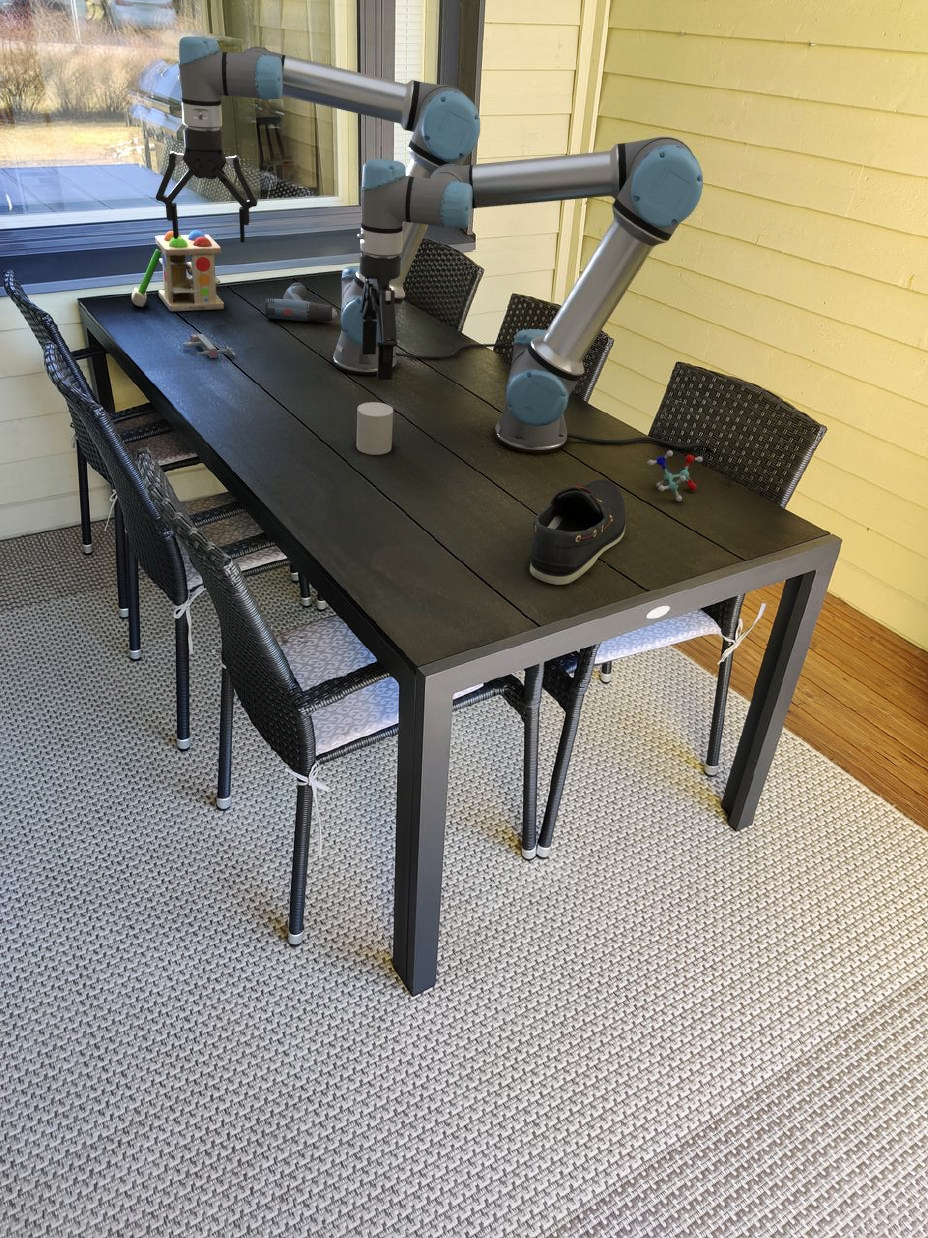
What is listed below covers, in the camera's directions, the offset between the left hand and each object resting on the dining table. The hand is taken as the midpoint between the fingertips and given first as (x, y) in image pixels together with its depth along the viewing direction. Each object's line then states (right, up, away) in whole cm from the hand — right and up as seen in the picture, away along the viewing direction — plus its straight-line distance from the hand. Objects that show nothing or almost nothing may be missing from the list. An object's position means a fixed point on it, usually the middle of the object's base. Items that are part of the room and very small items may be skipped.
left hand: (209, 239), depth 206 cm
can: (+35, -45, -6) cm, 57 cm away
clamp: (-8, -16, +30) cm, 35 cm away
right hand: (+36, -31, -16) cm, 50 cm away
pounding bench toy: (-24, +5, +58) cm, 63 cm away
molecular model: (+94, -55, -12) cm, 110 cm away
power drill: (+10, +3, +61) cm, 62 cm away
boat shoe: (+74, -66, -32) cm, 104 cm away
